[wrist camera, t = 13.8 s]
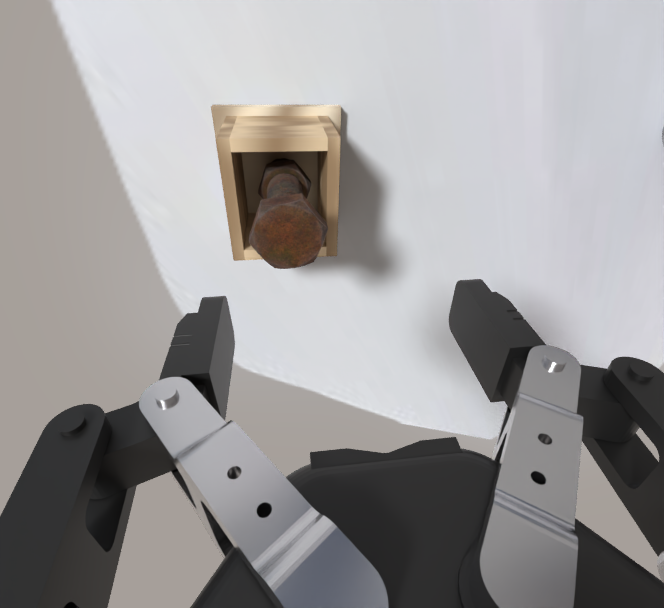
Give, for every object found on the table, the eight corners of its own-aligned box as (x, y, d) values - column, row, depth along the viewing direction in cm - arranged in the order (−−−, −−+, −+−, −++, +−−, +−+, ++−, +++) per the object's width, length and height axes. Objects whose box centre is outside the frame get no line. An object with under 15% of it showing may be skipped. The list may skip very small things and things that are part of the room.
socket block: (339, 104, 38) (356, 126, 30) (336, 220, 45) (349, 262, 37) (212, 105, 36) (196, 127, 29) (230, 223, 43) (221, 268, 36)
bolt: (296, 205, 42) (307, 280, 30) (251, 189, 40) (242, 261, 28) (316, 153, 39) (337, 213, 27) (268, 133, 37) (266, 188, 25)
